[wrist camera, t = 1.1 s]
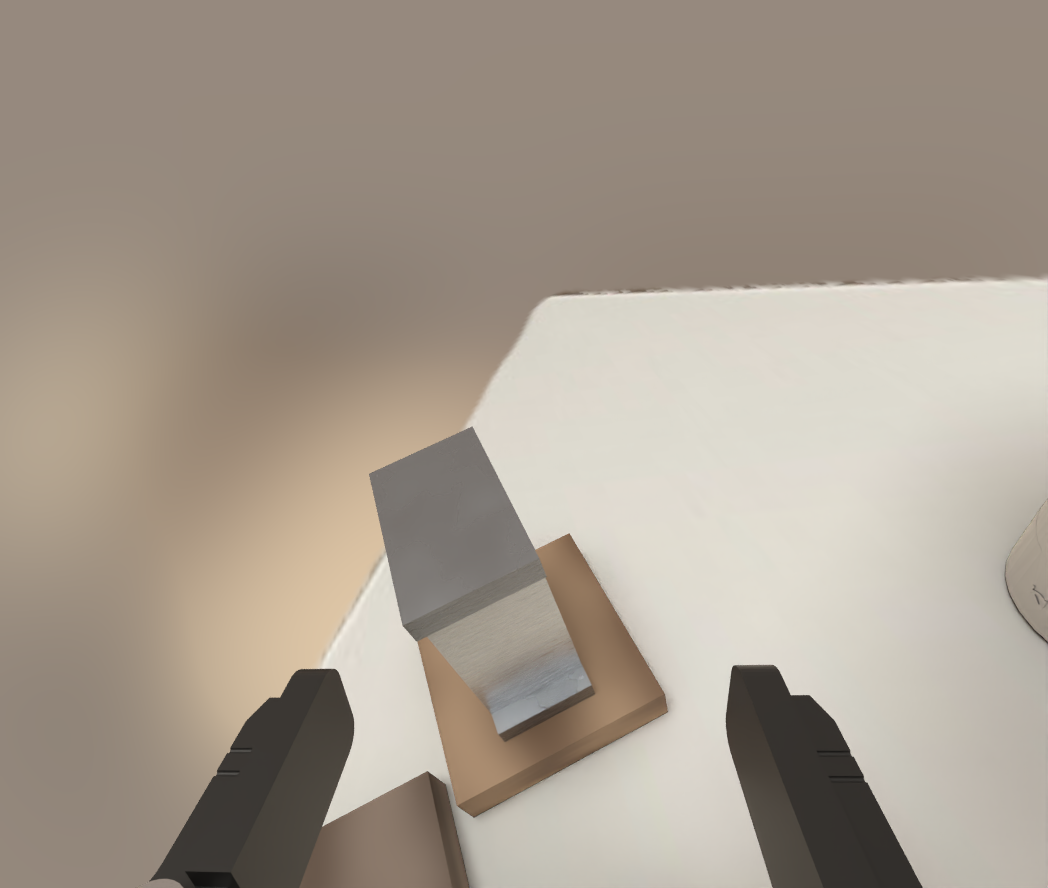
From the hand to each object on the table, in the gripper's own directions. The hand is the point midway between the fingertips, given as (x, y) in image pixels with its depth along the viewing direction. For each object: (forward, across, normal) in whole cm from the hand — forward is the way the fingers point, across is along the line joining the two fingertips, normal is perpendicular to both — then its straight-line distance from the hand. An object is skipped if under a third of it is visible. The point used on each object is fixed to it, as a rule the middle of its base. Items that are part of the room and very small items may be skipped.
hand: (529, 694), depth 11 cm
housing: (+14, +2, +13) cm, 19 cm away
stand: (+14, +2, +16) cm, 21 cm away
